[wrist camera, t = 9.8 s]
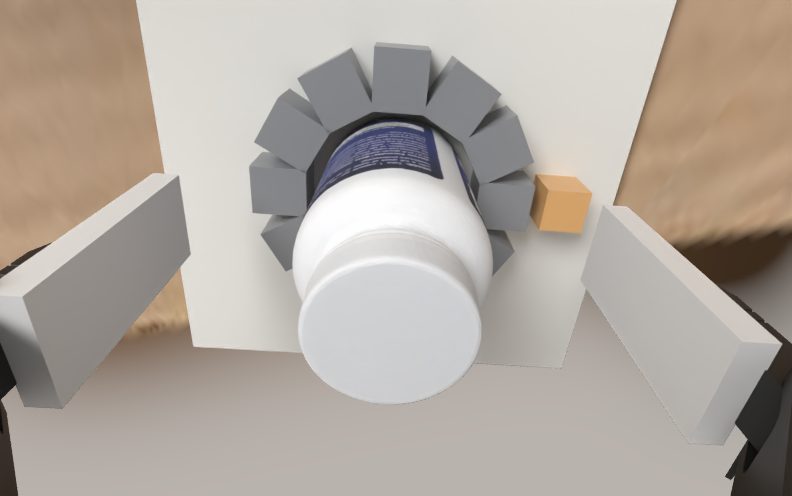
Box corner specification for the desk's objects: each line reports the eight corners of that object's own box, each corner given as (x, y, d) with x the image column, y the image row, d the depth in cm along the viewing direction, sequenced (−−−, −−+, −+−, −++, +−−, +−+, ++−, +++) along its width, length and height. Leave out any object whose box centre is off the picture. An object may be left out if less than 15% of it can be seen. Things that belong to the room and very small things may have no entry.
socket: (126, -116, 15) (79, -136, 12) (687, -66, 15) (734, -77, 13) (198, 338, 23) (177, 372, 21) (557, 360, 23) (573, 395, 21)
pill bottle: (300, 193, 19) (214, 355, 10) (381, 82, 17) (359, 166, 8) (406, 265, 20) (409, 459, 12) (491, 171, 18) (572, 322, 10)
